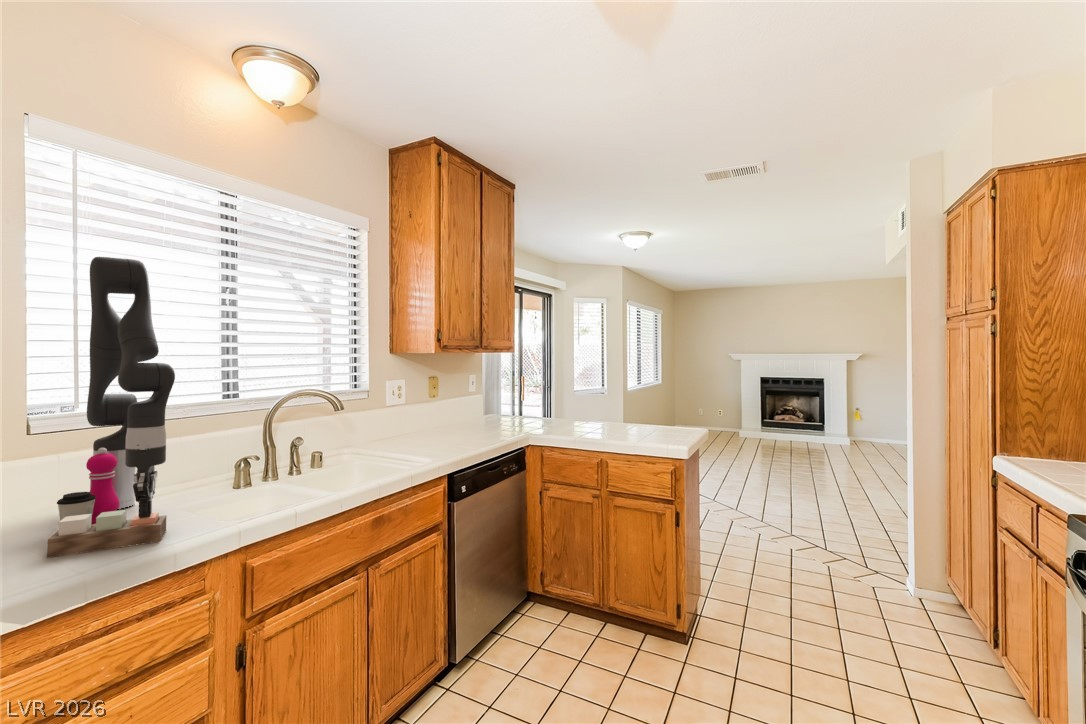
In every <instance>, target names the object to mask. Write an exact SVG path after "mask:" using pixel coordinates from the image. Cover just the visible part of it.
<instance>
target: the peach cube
mask: <svg viewBox="0 0 1086 724" xmlns="http://www.w3.org/2000/svg"><path fill="white" fill-rule="evenodd" d="M159 516H160V515H159V512H152V514H151V515H150V516H149V517H144V518H140V517H139V514H136V515H134V516H133V518H132V519H130V520H131V526H134V525H142V524H150V523H155V524H156V523H157V522H158V520H159Z"/></svg>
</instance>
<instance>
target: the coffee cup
mask: <svg viewBox="0 0 1086 724" xmlns="http://www.w3.org/2000/svg"><path fill="white" fill-rule="evenodd" d="M62 496H63V497H62V498H60V499H58V500H57V502H56V504H57V507H58V514H59V519H60V520H59V522H60V521H61V520H62V519H63V518H65V517H67V516H75V515H84V514H92V513H93V507H94V501H95V499H96V497H95V495H91V493H90V491H75V492H71V493H66V494H63V495H62ZM91 519H92V515H91Z"/></svg>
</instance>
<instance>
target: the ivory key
mask: <svg viewBox="0 0 1086 724" xmlns="http://www.w3.org/2000/svg"><path fill="white" fill-rule="evenodd" d="M91 515H92V514H84V515H75V516H67V517H65V518H63V519H62V520H61V521H60V520H59V522H58V530H59V536H63V535H71V534H78V533H86V532H88V531H89V530H90V529H91Z"/></svg>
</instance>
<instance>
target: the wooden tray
mask: <svg viewBox="0 0 1086 724" xmlns="http://www.w3.org/2000/svg"><path fill="white" fill-rule="evenodd" d="M131 520H132V519H126V524H125V526H124V527H123V528H117V529H109V530H102V531H96V524H91V529H90V530H89V531H88V532H86V533H78V534H71V535H63V536H59V529H58V530H57V531H55V532H54V533H53V534H52V535H51V536H49V537H48V538H47V539H46V540H47V541H46V558H56V557H61V556H62V557H63V556H69V555H75V554H81V553H89V552H97V551H104V550H110V548H111V549H117V547H118V548H123V547H122V546H125V547H130V546H129V545H132V546H137V545H136V544H139V545H143V544H142V543H146V544H151V542H153V543H158V541H160V542H161V541H162V539H163V538H164V536H163V535H165V534H166V532H167V515H166V514H165V515H159V520H158V522H157V523H156V524H155V523H150V524H142V525H134V526H131ZM165 531H166V532H165ZM164 533H165V534H164ZM162 537H163V538H162Z"/></svg>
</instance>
